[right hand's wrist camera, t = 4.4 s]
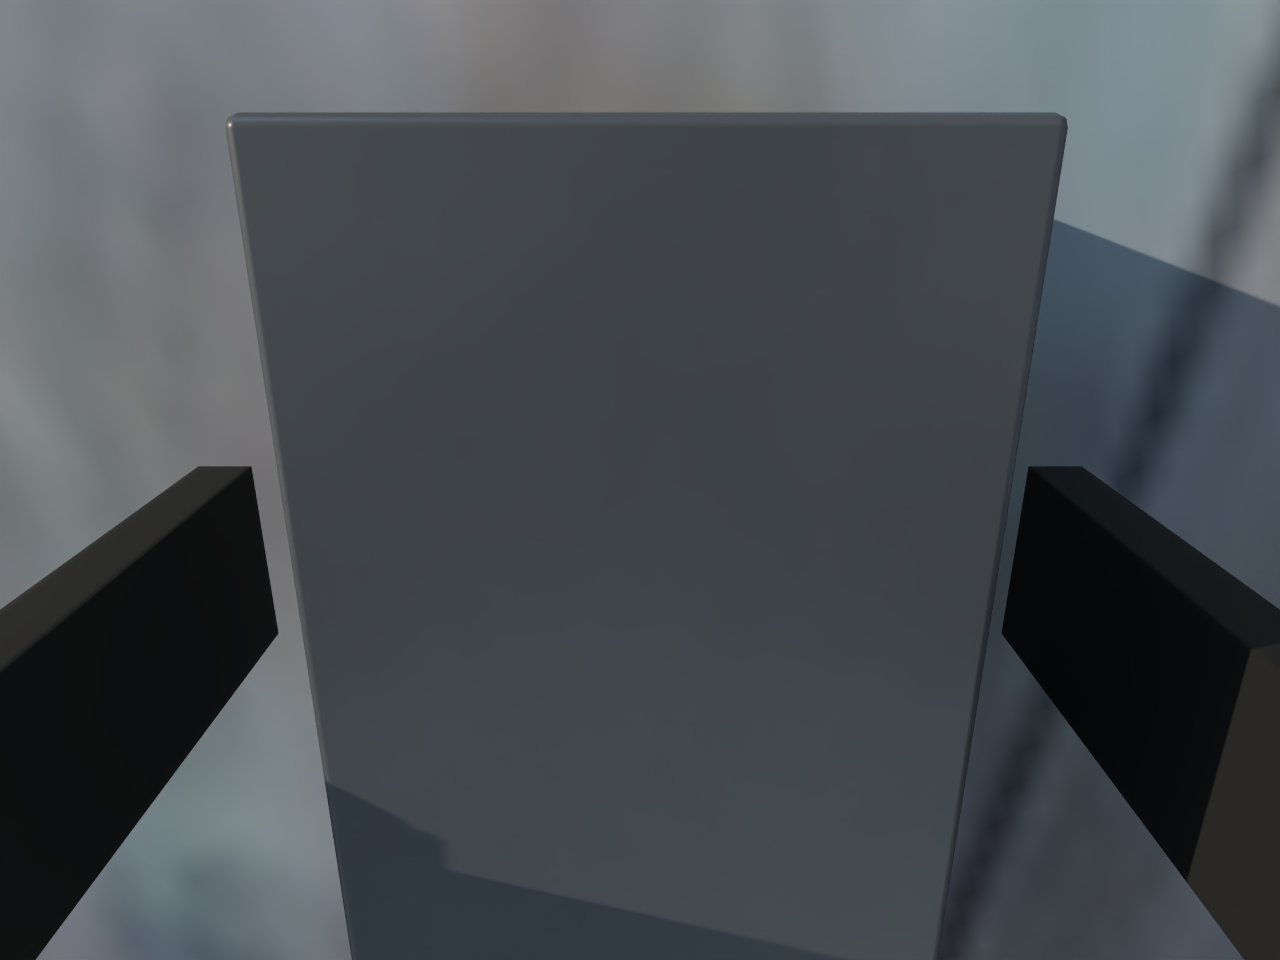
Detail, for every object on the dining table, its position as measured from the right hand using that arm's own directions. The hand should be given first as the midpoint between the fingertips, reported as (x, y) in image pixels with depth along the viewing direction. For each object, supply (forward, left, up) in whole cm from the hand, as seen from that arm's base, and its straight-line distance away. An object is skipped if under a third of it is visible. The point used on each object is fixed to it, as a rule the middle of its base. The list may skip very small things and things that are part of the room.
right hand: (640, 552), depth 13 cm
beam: (+7, +22, -2) cm, 23 cm away
